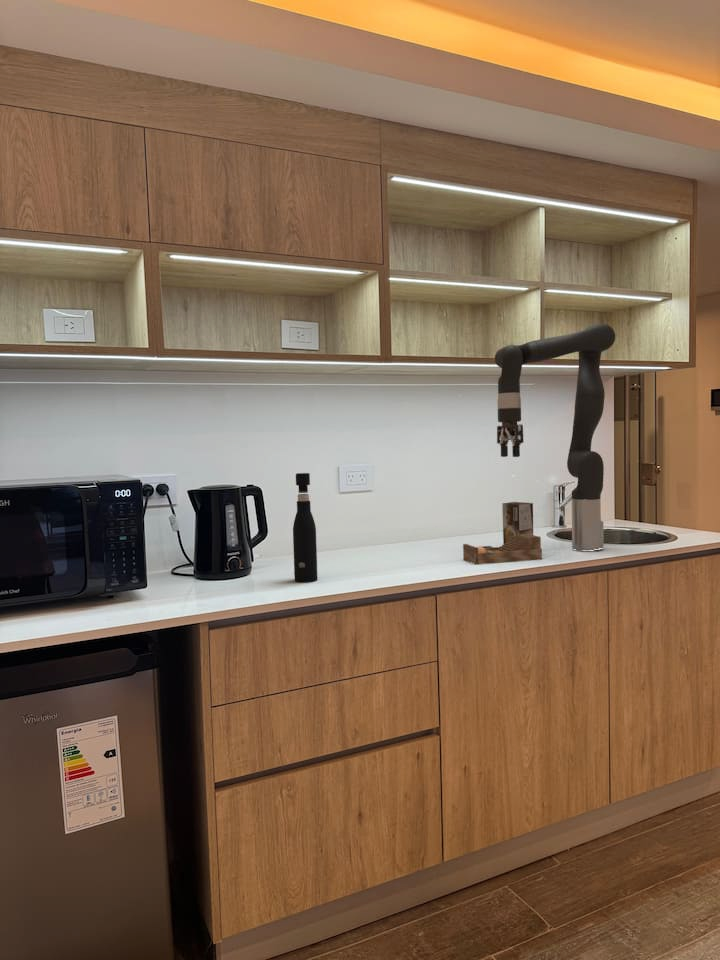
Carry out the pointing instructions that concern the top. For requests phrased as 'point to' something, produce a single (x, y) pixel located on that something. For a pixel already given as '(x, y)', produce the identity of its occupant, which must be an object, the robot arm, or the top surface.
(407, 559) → the top surface
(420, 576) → the top surface
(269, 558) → the top surface
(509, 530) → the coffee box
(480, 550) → the ball
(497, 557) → the lane
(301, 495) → the black bottle
